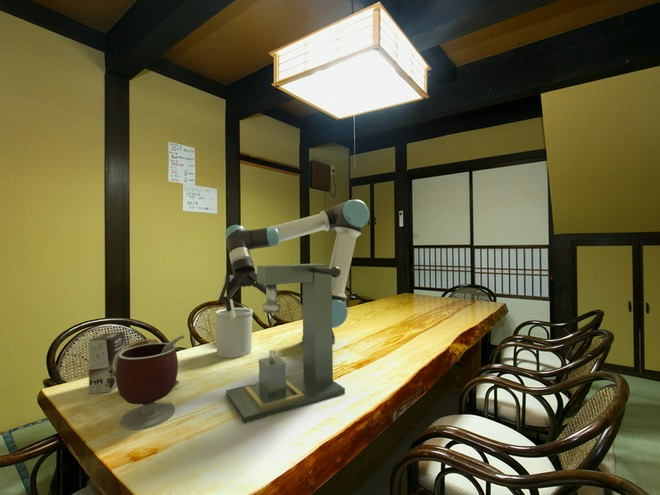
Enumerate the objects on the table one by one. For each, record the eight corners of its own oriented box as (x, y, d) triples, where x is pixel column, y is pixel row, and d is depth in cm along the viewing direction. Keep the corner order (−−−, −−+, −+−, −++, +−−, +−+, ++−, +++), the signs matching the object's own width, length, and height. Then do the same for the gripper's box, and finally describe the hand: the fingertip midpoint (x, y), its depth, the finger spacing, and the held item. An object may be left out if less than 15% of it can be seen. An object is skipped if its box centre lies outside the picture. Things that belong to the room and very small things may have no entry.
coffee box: (111, 392, 97) (111, 339, 97) (88, 394, 96) (87, 340, 96) (125, 380, 106) (125, 331, 106) (104, 381, 105) (103, 332, 105)
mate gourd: (110, 437, 74) (109, 350, 74) (122, 409, 87) (121, 335, 87) (184, 421, 80) (183, 341, 80) (185, 398, 93) (184, 329, 93)
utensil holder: (251, 345, 143) (251, 306, 143) (254, 356, 129) (254, 312, 129) (216, 349, 138) (216, 308, 138) (215, 360, 124) (215, 315, 124)
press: (315, 373, 110) (313, 262, 110) (361, 404, 88) (359, 265, 88) (225, 395, 94) (224, 266, 94) (254, 439, 72) (252, 270, 72)
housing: (276, 386, 97) (276, 346, 97) (286, 394, 91) (285, 352, 91) (259, 390, 94) (258, 349, 94) (267, 399, 88) (267, 356, 88)
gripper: (271, 267, 125) (285, 316, 114) (204, 270, 111) (213, 327, 101) (277, 255, 120) (293, 306, 109) (207, 258, 106) (217, 316, 96)
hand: (254, 316), depth 105 cm, fingers open, 13 cm apart
